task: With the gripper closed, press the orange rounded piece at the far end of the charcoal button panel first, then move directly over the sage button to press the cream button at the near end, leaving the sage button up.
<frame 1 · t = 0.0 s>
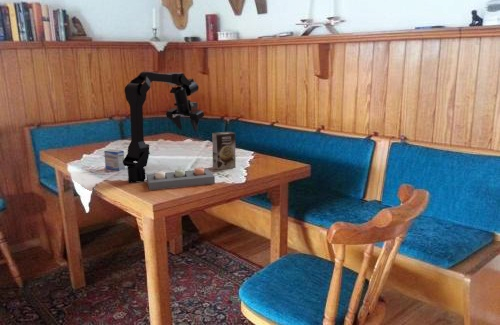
hand: (188, 130, 203), 15 cm above the table, tool pointing down, fingers open, 9 cm apart
button panel: (180, 182, 175), on the table
cream button: (160, 176, 172), point 3 cm above the table, slide at 0.0 cm
medicine box: (115, 169, 196), on the table
coffee box: (224, 167, 198), on the table
sage button: (180, 174, 174), point 3 cm above the table, slide at 0.0 cm
orange rounded piece: (199, 172, 177), point 3 cm above the table, slide at 0.0 cm
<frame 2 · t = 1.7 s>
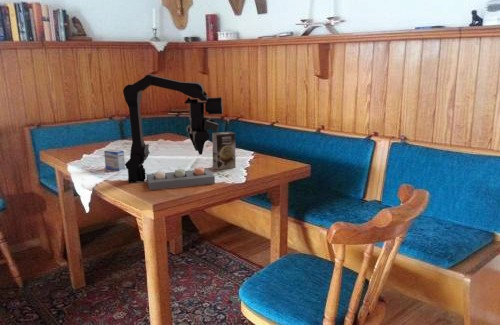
hand: (198, 152, 175), 12 cm above the table, tool pointing down, fingers open, 7 cm apart
nothing on the table moved.
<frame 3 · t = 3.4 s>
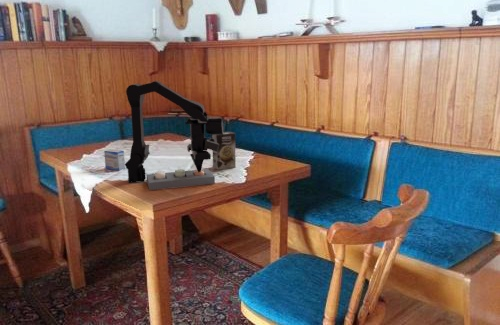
hand: (199, 171, 177), 4 cm above the table, tool pointing down, fingers closed, pressing on orange rounded piece
orange rounded piece: (199, 175, 177), point 2 cm above the table, slide at 1.1 cm, touching gripper
everything else where it was.
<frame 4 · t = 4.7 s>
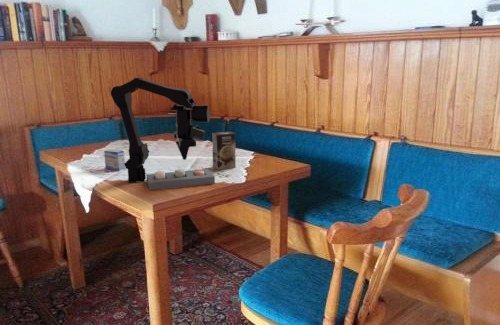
hand: (184, 159, 174), 10 cm above the table, tool pointing down, fingers closed
orange rounded piece: (199, 175, 177), point 2 cm above the table, slide at 1.2 cm
everything else where it was.
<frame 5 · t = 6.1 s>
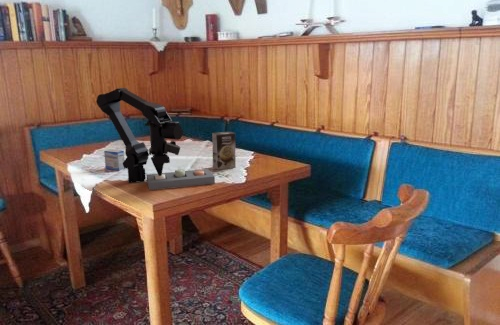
hand: (160, 175, 172), 4 cm above the table, tool pointing down, fingers closed, pressing on cream button
cream button: (160, 179, 172), point 2 cm above the table, slide at 1.2 cm, touching gripper
everything else where it was.
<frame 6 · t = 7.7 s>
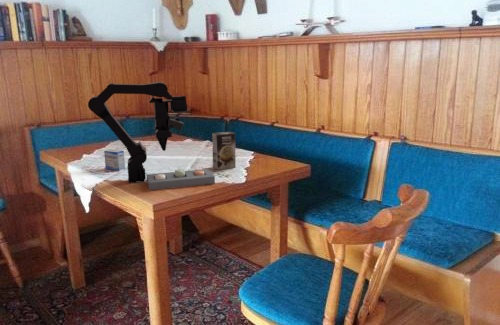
hand: (164, 150, 178), 12 cm above the table, tool pointing down, fingers closed
cream button: (160, 179, 172), point 2 cm above the table, slide at 1.2 cm
everything else where it was.
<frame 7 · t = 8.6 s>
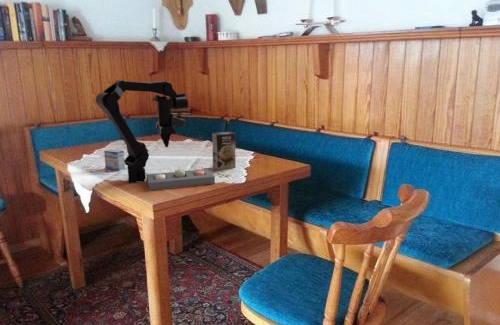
hand: (166, 146, 185), 12 cm above the table, tool pointing down, fingers closed
nothing on the table moved.
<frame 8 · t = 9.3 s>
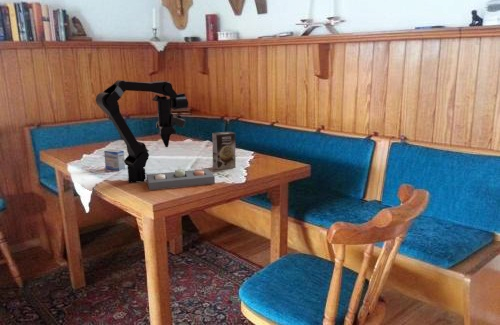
hand: (166, 146, 185), 12 cm above the table, tool pointing down, fingers closed
nothing on the table moved.
at the end: orange rounded piece slide at 1.2 cm; cream button slide at 1.2 cm; sage button slide at 0.0 cm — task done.
